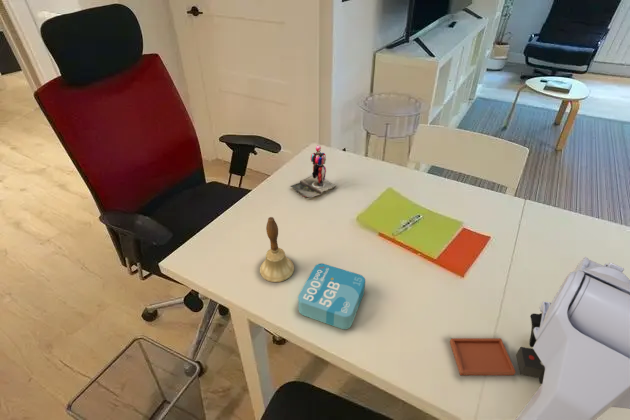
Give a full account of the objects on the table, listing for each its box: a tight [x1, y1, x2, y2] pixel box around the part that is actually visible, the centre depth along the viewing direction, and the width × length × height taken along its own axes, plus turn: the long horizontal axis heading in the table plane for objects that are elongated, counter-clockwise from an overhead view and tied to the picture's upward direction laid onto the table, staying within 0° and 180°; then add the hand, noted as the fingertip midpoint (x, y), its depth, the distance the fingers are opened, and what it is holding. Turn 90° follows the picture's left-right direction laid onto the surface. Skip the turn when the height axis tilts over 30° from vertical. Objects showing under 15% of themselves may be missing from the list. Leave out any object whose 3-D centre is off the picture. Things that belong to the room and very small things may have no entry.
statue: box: [290, 145, 337, 199], centre depth 112 cm, size 11×9×15 cm
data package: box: [297, 262, 366, 330], centre depth 81 cm, size 12×4×12 cm
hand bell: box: [259, 216, 295, 283], centre depth 85 cm, size 8×8×16 cm
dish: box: [449, 337, 517, 376], centre depth 72 cm, size 10×7×1 cm
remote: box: [515, 346, 544, 379], centre depth 70 cm, size 7×4×3 cm, turn 78°
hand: (540, 363), depth 70 cm, fingers open, 7 cm apart
